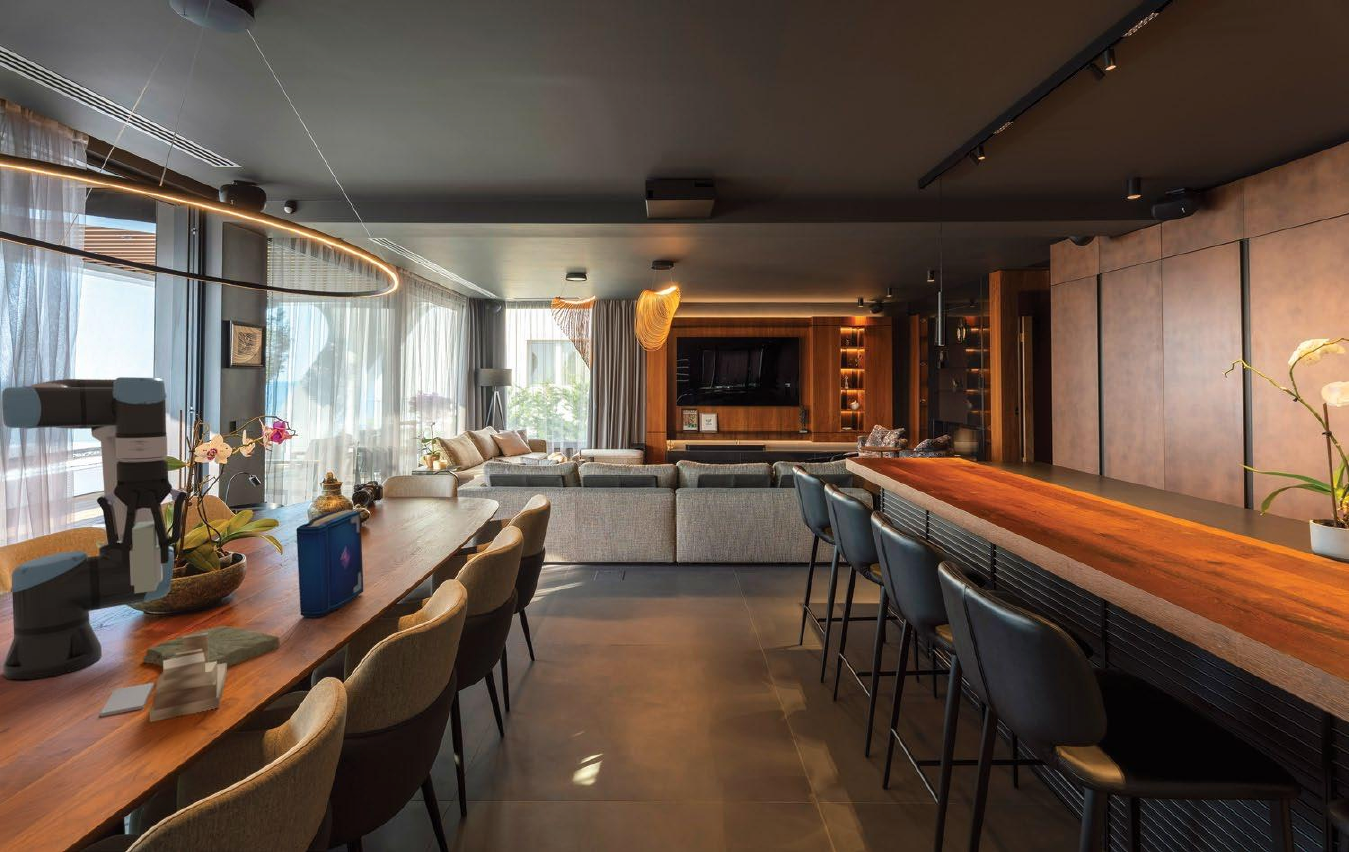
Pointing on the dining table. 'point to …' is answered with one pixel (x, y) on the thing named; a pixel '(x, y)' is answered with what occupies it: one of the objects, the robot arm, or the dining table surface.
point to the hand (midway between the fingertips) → (147, 581)
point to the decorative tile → (219, 646)
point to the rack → (191, 647)
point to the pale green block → (144, 556)
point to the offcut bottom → (184, 696)
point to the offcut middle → (189, 679)
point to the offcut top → (183, 666)
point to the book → (329, 562)
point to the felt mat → (127, 699)
